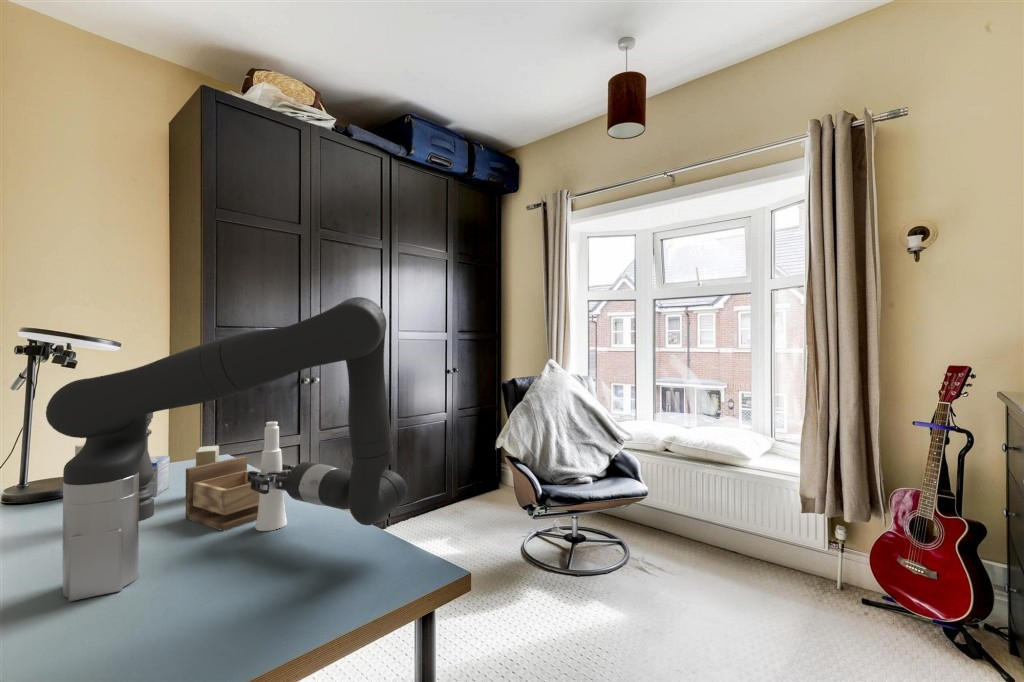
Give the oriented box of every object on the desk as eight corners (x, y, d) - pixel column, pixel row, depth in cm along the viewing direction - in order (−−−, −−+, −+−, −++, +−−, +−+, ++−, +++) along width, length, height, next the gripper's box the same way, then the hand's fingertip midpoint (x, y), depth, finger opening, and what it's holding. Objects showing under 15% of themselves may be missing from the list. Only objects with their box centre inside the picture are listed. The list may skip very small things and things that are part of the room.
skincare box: (199, 493, 122) (199, 446, 122) (219, 491, 123) (219, 444, 123) (194, 501, 116) (195, 451, 116) (215, 499, 117) (215, 449, 118)
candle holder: (160, 512, 108) (161, 403, 108) (136, 523, 102) (137, 406, 102) (136, 511, 108) (136, 402, 109) (110, 522, 102) (111, 406, 102)
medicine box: (150, 488, 126) (150, 456, 126) (169, 487, 127) (170, 455, 127) (136, 498, 118) (136, 463, 118) (157, 496, 120) (157, 462, 120)
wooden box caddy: (280, 511, 109) (281, 463, 109) (223, 531, 98) (223, 477, 98) (243, 501, 116) (243, 456, 116) (185, 518, 104) (185, 468, 105)
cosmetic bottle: (250, 526, 100) (251, 422, 100) (280, 518, 105) (280, 419, 105) (261, 534, 96) (262, 425, 96) (291, 525, 101) (292, 422, 101)
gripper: (346, 457, 100) (294, 448, 108) (284, 473, 87) (230, 462, 95) (345, 492, 100) (293, 481, 108) (284, 514, 87) (230, 499, 95)
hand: (264, 472), depth 102 cm, fingers open, 6 cm apart
